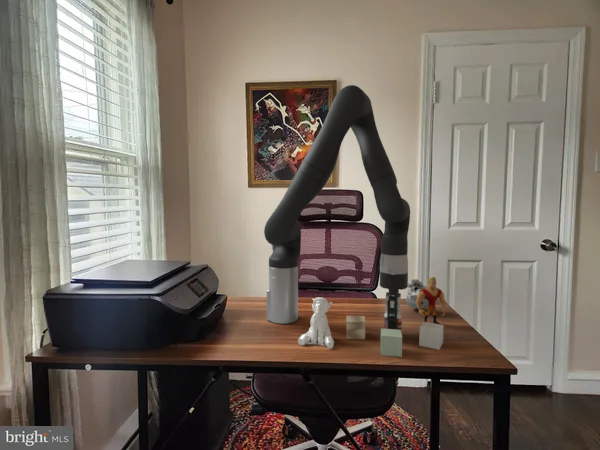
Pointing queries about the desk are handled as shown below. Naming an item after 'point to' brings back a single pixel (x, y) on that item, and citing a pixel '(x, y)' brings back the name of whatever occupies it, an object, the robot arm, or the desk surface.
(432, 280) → the action figure
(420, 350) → the desk surface
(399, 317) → the pill bottle
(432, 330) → the grey block
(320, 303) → the white creature statuette
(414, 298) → the heart
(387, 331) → the sage block
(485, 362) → the desk surface
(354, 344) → the desk surface
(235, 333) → the desk surface
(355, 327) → the birch block
